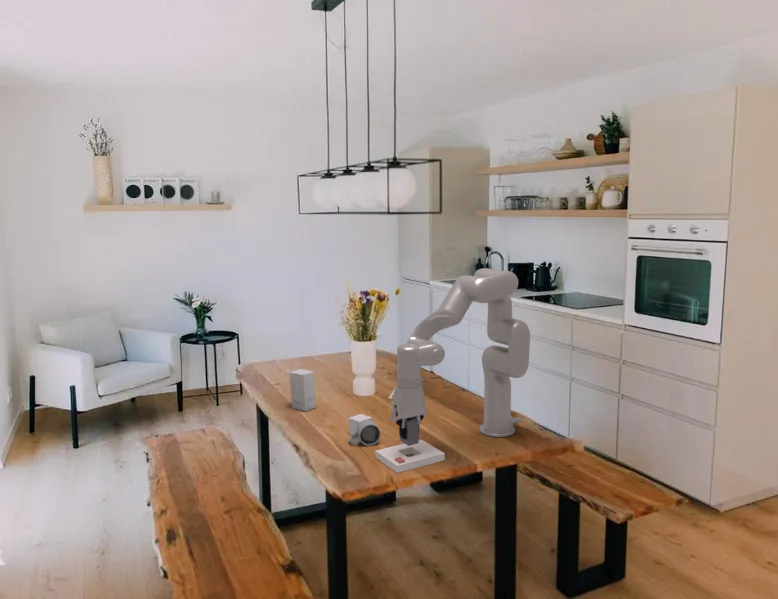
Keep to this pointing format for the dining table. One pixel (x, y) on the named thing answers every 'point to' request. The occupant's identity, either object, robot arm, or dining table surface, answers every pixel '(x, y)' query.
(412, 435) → the plug
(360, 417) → the light grey cube
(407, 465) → the socket plate
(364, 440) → the ceramic mug
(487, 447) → the dining table surface
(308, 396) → the skincare box
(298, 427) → the dining table surface
